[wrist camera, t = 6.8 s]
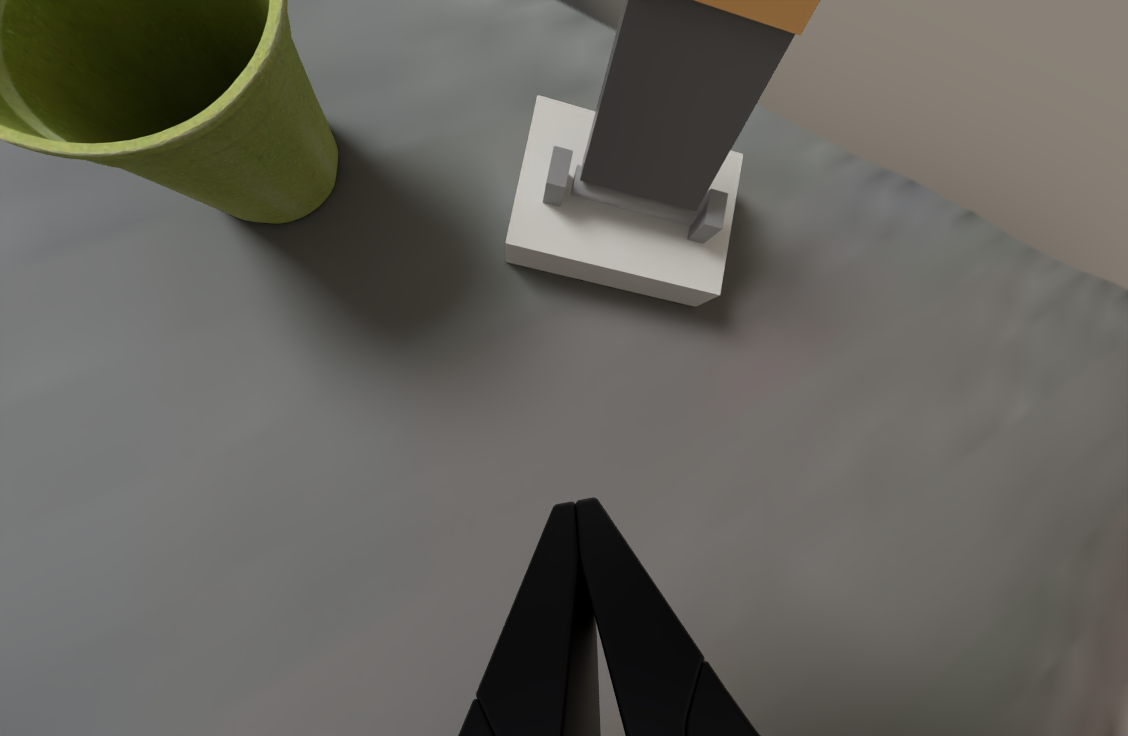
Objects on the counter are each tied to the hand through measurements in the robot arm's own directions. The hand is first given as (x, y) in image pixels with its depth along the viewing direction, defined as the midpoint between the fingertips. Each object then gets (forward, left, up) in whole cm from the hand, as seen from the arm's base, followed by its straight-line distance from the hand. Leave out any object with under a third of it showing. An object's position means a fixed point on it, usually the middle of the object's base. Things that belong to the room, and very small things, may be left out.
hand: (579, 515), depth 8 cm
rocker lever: (+8, -9, -8) cm, 14 cm away
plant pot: (+18, +4, -12) cm, 22 cm away
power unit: (+8, -9, -12) cm, 17 cm away
